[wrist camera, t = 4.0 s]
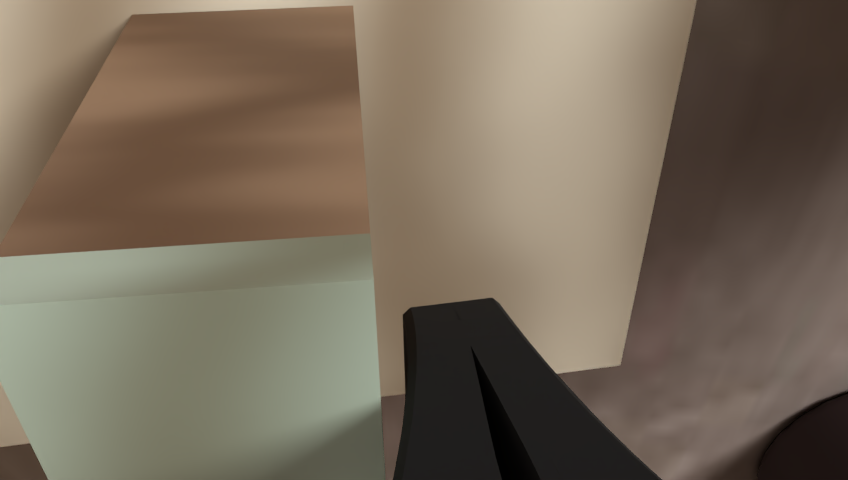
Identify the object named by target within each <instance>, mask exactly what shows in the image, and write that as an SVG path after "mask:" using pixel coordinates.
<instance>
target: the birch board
mask: <svg viewBox="0 0 848 480" xmlns="http://www.w3.org/2000/svg"><path fill="white" fill-rule="evenodd" d="M696 2H697V0H0V244H1V242H2V241H3V239H4V237H5V235H6V234H7V232H8V230H9V228H10V227H11V225H12V223H13V221H14V220H15V218H16V216H17V214H18V213H19V211H20V209H21V208H22V206H23V204H24V202H25V201H26V199H27V197H28V195H29V194H30V192H31V190H32V188H33V187H34V185H35V183H36V181H37V180H38V178H39V176H40V174H41V173H42V171H43V169H44V167H45V166H46V164H47V162H48V160H49V159H50V157H51V155H52V153H53V152H54V150H55V148H56V146H57V145H58V143H59V141H60V139H61V138H62V136H63V134H64V132H65V131H66V129H67V127H68V126H69V124H70V122H71V120H72V119H73V117H74V115H75V113H76V112H77V110H78V108H79V106H80V105H81V103H82V101H83V99H84V98H85V96H86V94H87V92H88V91H89V89H90V87H91V85H92V84H93V82H94V80H95V78H96V77H97V75H98V73H99V71H100V70H101V68H102V66H103V64H104V63H105V61H106V59H107V57H108V56H109V54H110V52H111V50H112V49H113V47H114V45H115V44H116V42H117V40H118V38H119V37H120V35H121V33H122V31H123V30H124V28H125V26H126V24H127V23H128V21H129V19H130V17H131V16H132V15H134V14H159V13H183V12H207V11H232V10H256V9H280V8H305V7H329V6H353V11H354V24H355V38H356V51H357V64H358V77H359V91H360V104H361V117H362V131H363V144H364V157H365V170H366V184H367V197H368V210H369V224H370V237H371V250H372V264H373V277H374V293H375V310H376V327H377V344H378V361H379V378H380V395H381V397H384V396H392V395H399V394H405V370H404V340H403V314H404V313H405V312H406V311H407V310H408V309H409V308H410V307H418V306H426V305H435V304H443V303H451V302H460V301H468V300H476V299H485V298H494V299H495V300H496V301H497V302H499V303H500V305H501V306H502V307H503V309H504V310H505V311H506V313H507V314H508V315H509V317H510V318H511V319H512V320H513V322H514V323H515V324H516V326H517V327H518V328H519V329H520V331H521V332H522V333H523V335H524V336H525V337H526V338H527V339H528V341H529V342H530V343H531V344H532V346H533V347H534V348H535V349H536V350H537V352H538V353H539V354H540V355H541V356H542V358H543V359H544V360H545V361H546V362H547V363H548V365H549V366H550V367H551V368H552V369H553V370H554V372H555V373H556V374H558V373H566V372H574V371H581V370H589V369H596V368H604V367H611V366H619V365H620V364H621V360H622V355H623V350H624V345H625V341H626V336H627V331H628V326H629V322H630V317H631V312H632V307H633V302H634V298H635V293H636V288H637V283H638V279H639V274H640V269H641V264H642V260H643V255H644V250H645V245H646V240H647V236H648V231H649V226H650V221H651V217H652V212H653V207H654V202H655V198H656V193H657V188H658V183H659V178H660V174H661V169H662V164H663V159H664V155H665V150H666V145H667V140H668V136H669V131H670V126H671V121H672V116H673V112H674V107H675V102H676V97H677V93H678V88H679V83H680V78H681V74H682V69H683V64H684V59H685V54H686V50H687V45H688V40H689V35H690V31H691V26H692V21H693V16H694V12H695V7H696ZM28 443H30V442H29V440H28V438H27V436H26V433H25V431H24V429H23V427H22V425H21V423H20V421H19V419H18V417H17V415H16V413H15V411H14V409H13V407H12V405H11V403H10V401H9V399H8V397H7V395H6V393H5V391H4V388H3V386H2V384H1V382H0V447H5V446H13V445H20V444H28Z"/></svg>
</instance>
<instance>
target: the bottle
mask: <svg viewBox="0 0 848 480" xmlns="http://www.w3.org/2000/svg"><path fill="white" fill-rule="evenodd" d="M757 477H758V480H848V394H846V395H843V396H840V397H838V398H835V399H832V400H830V401H827V402H825V403H823V404H821V405H820V406H818V407H816V408H814V409H813V410H811V411H809V412H807V413H806V414H804V415H802V416H800V417H799V418H798V419H797V420H796V421H794V422H793V423H792V424H791V425H790V426H788V427H787V428H786V429H785V430H784V431H782V432H781V433H780V434H779V435H778V436H777V438H776V439H775V440H774V442H773V443H772V444H771V446H770V447H769V448H768V449H767V451H766V452H765V454H764V456H763V459H762V462H761V465H760V468H759V471H758V473H757Z"/></svg>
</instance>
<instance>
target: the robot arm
mask: <svg viewBox="0 0 848 480" xmlns="http://www.w3.org/2000/svg"><path fill="white" fill-rule="evenodd" d="M403 340H404V370H405V409H404V418H403V427H402V434H401V440H400V445H399V451H398V456H397V461H396V467H395V472H394V478H393V480H662V479H661V478H659V477H658V476H657V475H656V474H655V473H654V472H653V471H652V470H651V469H649V468H648V467H647V466H646V465H645V464H644V463H643V462H642V461H641V460H640V459H639V458H638V457H636V456H635V455H634V454H633V453H632V452H631V451H630V450H629V449H628V448H627V447H626V446H625V445H624V444H623V443H622V442H621V441H620V440H619V439H618V438H617V437H616V436H615V435H614V434H613V433H612V432H611V431H610V430H609V429H608V428H607V427H606V426H605V425H604V424H603V423H602V422H601V421H600V420H599V419H598V418H597V417H596V416H595V415H594V414H593V413H592V412H591V411H590V410H589V409H588V408H587V407H586V406H585V404H584V403H583V402H582V401H581V400H580V399H579V398H578V397H577V396H576V395H575V394H574V393H573V391H572V390H571V389H570V388H569V387H568V386H567V385H566V384H565V383H564V382H563V381H562V379H561V378H560V377H559V376H558V375H557V374H556V373H555V372H554V370H553V369H552V368H551V367H550V366H549V365H548V363H547V362H546V361H545V360H544V359H543V358H542V356H541V355H540V354H539V353H538V352H537V350H536V349H535V348H534V347H533V346H532V344H531V343H530V342H529V341H528V339H527V338H526V337H525V336H524V335H523V333H522V332H521V331H520V329H519V328H518V327H517V326H516V324H515V323H514V322H513V320H512V319H511V318H510V317H509V315H508V314H507V313H506V311H505V310H504V309H503V307H502V306H501V305H500V303H499V302H497V301H496V300H495V299H494V298H485V299H476V300H468V301H460V302H451V303H443V304H435V305H426V306H418V307H410V308H409V309H408V310H407V311H406V312H405V313H404V314H403Z"/></svg>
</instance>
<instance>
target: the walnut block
mask: <svg viewBox="0 0 848 480" xmlns="http://www.w3.org/2000/svg"><path fill="white" fill-rule="evenodd" d="M0 382H1V384H2V386H3V388H4V391H5V393H6V395H7V397H8V399H9V401H10V403H11V405H12V407H13V409H14V411H15V413H16V415H17V417H18V419H19V421H20V423H21V425H22V427H23V429H24V431H25V433H26V436H27V438H28V440H29V442H30V444H31V446H32V448H33V450H34V452H35V454H36V456H37V458H38V460H39V462H40V464H41V466H42V468H43V470H44V472H45V474H46V476H47V478H48V480H385V463H384V446H383V429H382V412H381V395H380V378H379V361H378V344H377V327H376V310H375V293H374V277H373V264H372V250H371V237H370V224H369V210H368V197H367V184H366V170H365V157H364V144H363V131H362V117H361V104H360V91H359V77H358V64H357V51H356V38H355V24H354V11H353V6H329V7H305V8H280V9H256V10H232V11H207V12H183V13H159V14H134V15H132V16H131V17H130V19H129V21H128V23H127V24H126V26H125V28H124V30H123V31H122V33H121V35H120V37H119V38H118V40H117V42H116V44H115V45H114V47H113V49H112V50H111V52H110V54H109V56H108V57H107V59H106V61H105V63H104V64H103V66H102V68H101V70H100V71H99V73H98V75H97V77H96V78H95V80H94V82H93V84H92V85H91V87H90V89H89V91H88V92H87V94H86V96H85V98H84V99H83V101H82V103H81V105H80V106H79V108H78V110H77V112H76V113H75V115H74V117H73V119H72V120H71V122H70V124H69V126H68V127H67V129H66V131H65V132H64V134H63V136H62V138H61V139H60V141H59V143H58V145H57V146H56V148H55V150H54V152H53V153H52V155H51V157H50V159H49V160H48V162H47V164H46V166H45V167H44V169H43V171H42V173H41V174H40V176H39V178H38V180H37V181H36V183H35V185H34V187H33V188H32V190H31V192H30V194H29V195H28V197H27V199H26V201H25V202H24V204H23V206H22V208H21V209H20V211H19V213H18V214H17V216H16V218H15V220H14V221H13V223H12V225H11V227H10V228H9V230H8V232H7V234H6V235H5V237H4V239H3V241H2V242H1V244H0Z"/></svg>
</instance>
